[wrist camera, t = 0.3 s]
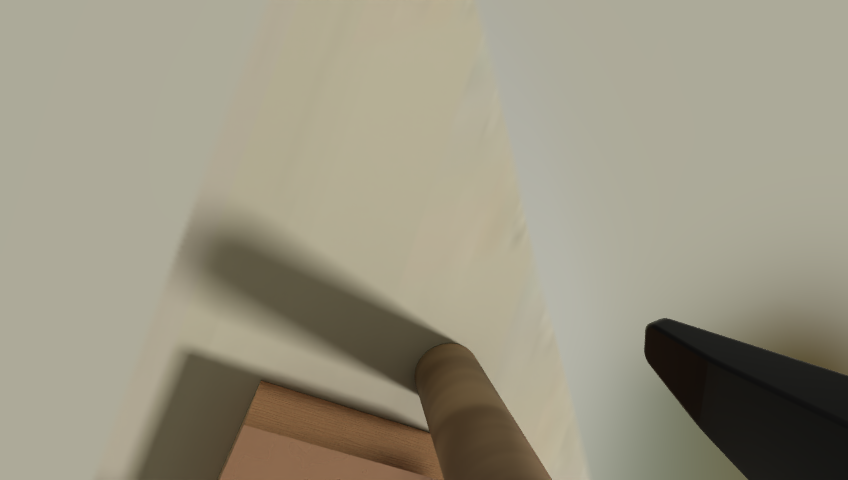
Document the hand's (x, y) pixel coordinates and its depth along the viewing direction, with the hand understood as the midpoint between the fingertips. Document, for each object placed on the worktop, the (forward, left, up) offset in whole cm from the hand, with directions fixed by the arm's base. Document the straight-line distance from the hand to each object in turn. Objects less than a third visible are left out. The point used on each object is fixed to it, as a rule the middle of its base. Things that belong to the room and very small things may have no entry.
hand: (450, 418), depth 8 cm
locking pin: (-6, -7, -16) cm, 18 cm away
